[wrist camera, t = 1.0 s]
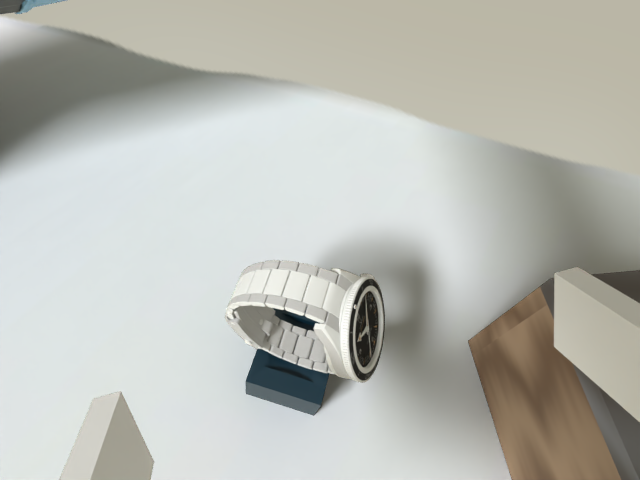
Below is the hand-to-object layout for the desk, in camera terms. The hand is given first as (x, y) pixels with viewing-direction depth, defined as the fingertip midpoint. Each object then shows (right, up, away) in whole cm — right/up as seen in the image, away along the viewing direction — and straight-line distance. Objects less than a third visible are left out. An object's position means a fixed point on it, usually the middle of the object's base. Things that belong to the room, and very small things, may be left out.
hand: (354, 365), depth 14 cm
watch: (-3, -4, +16) cm, 16 cm away
